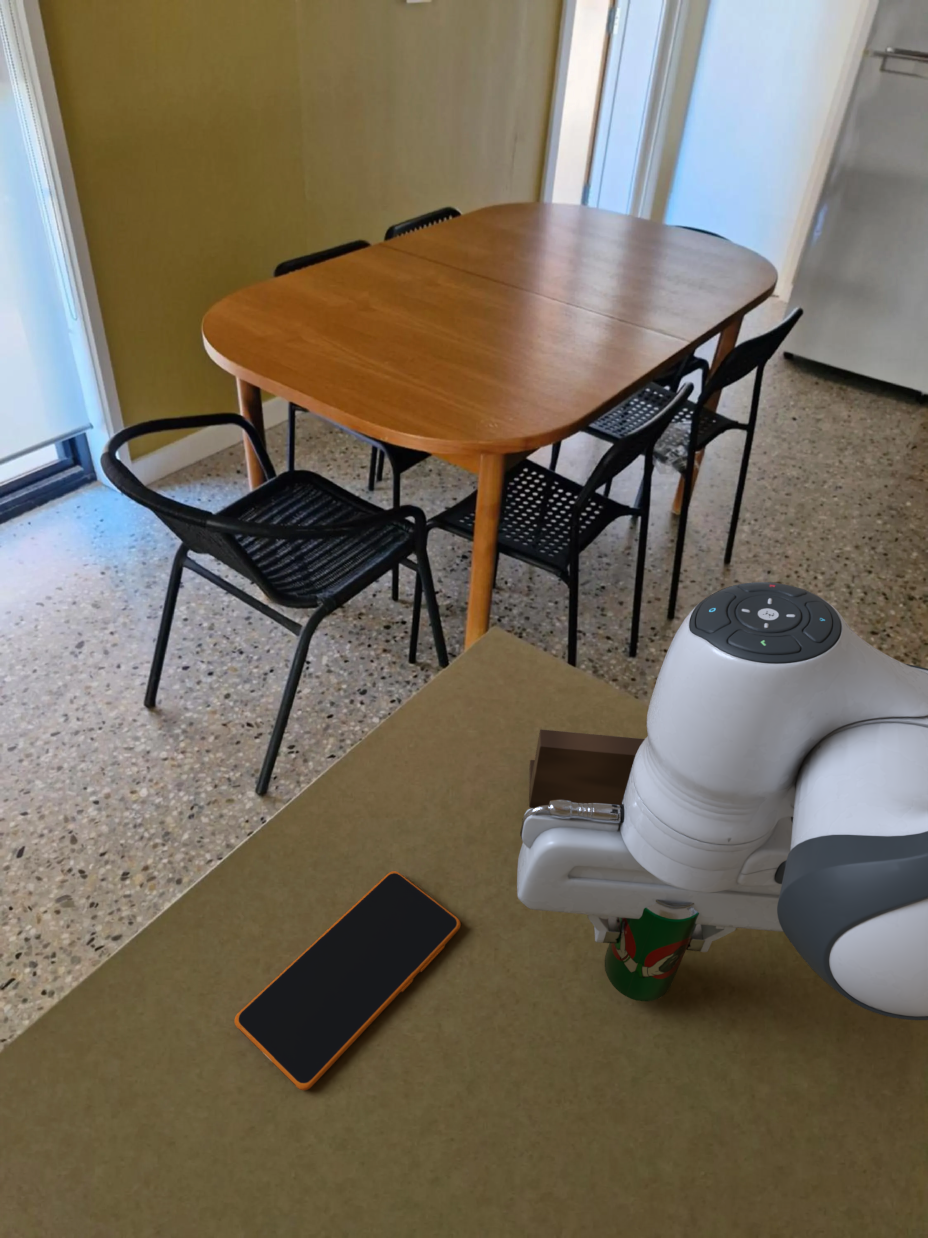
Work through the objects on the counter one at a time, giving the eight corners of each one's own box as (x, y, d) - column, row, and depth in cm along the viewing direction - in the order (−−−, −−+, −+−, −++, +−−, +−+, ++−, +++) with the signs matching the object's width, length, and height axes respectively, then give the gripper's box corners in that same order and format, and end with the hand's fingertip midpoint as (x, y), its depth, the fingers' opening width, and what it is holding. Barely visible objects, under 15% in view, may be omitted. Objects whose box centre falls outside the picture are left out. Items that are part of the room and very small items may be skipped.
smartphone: (231, 1024, 62) (229, 1018, 62) (393, 873, 73) (393, 867, 72) (305, 1098, 59) (304, 1093, 58) (464, 928, 69) (465, 922, 69)
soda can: (680, 963, 67) (720, 867, 59) (657, 1019, 63) (696, 925, 56) (618, 930, 68) (649, 833, 61) (592, 983, 65) (621, 887, 57)
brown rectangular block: (700, 781, 83) (721, 721, 78) (708, 824, 79) (731, 764, 74) (529, 765, 83) (539, 704, 78) (529, 807, 79) (540, 746, 74)
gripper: (525, 842, 52) (503, 967, 61) (874, 873, 52) (802, 993, 60) (525, 761, 57) (505, 887, 65) (844, 789, 57) (781, 911, 65)
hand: (650, 938), depth 63 cm, fingers closed on soda can, 5 cm apart
